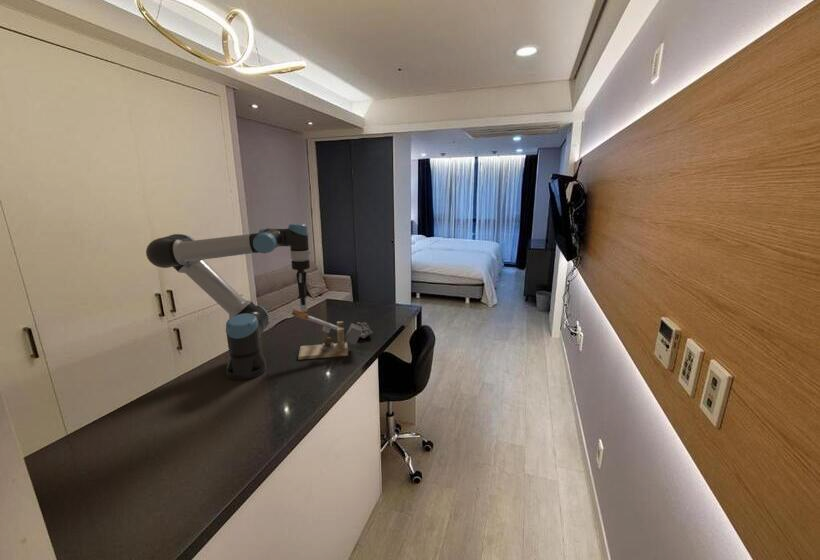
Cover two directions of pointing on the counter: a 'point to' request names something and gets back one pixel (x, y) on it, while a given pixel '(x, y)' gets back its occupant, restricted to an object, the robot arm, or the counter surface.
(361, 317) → the counter surface
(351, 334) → the lever
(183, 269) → the robot arm
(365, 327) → the rock
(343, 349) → the tan angle plate
